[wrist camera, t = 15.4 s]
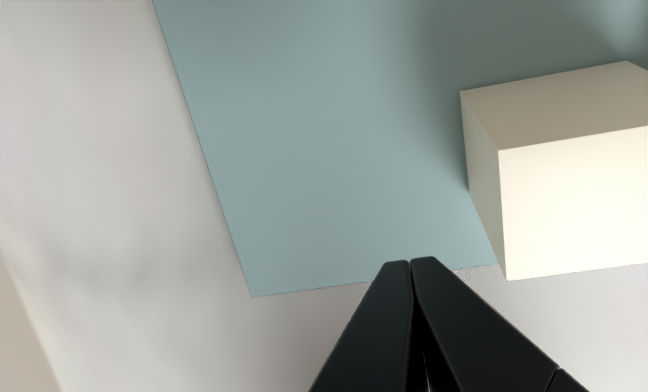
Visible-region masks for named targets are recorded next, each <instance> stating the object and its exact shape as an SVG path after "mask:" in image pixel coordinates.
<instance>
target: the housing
mask: <svg viewBox="0 0 648 392" xmlns="http://www.w3.org/2000/svg"><path fill="white" fill-rule="evenodd" d="M152 1H153V4H154V7H155V10H156V13H157V16H158V19H159V22H160V25H161V28H162V31H163V34H164V37H165V40H166V43H167V46H168V49H169V52H170V55H171V58H172V61H173V64H174V67H175V70H176V73H177V76H178V79H179V82H180V85H181V88H182V91H183V94H184V97H185V100H186V103H187V106H188V109H189V112H190V115H191V118H192V121H193V124H194V127H195V130H196V133H197V136H198V139H199V142H200V145H201V148H202V151H203V154H204V157H205V160H206V162H207V165H208V168H209V171H210V174H211V177H212V180H213V183H214V186H215V189H216V192H217V195H218V198H219V201H220V204H221V207H222V210H223V213H224V216H225V219H226V222H227V225H228V228H229V231H230V234H231V237H232V240H233V243H234V246H235V249H236V252H237V255H238V258H239V261H240V264H241V267H242V270H243V273H244V276H245V279H246V282H247V285H248V288H249V291H250V294H251V297H252V298H254V297H261V296H268V295H275V294H282V293H290V292H297V291H304V290H311V289H318V288H326V287H333V286H340V285H347V284H354V283H362V282H369V281H373V280H374V279H375V277H376V275H377V274H378V272H379V270H380V269H381V267H382V265H383V264H384V263H385V262H389V261H397V260H407V261H408V262H410V260H411V259H413V258H419V257H426V256H434V257H436V258H437V259H438V260H439V261H440V262H441V263H442V264H444V265H445V266H446V267H447V268H448V269H449V270H455V269H463V268H470V267H477V266H484V265H491V264H499V262H498V260H497V258H496V255H495V253H494V251H493V248H492V246H491V244H490V241H489V239H488V237H487V234H486V232H485V230H484V228H483V225H482V223H481V221H480V218H479V216H478V214H477V211H476V209H475V207H474V204H473V202H472V200H471V197H470V195H469V185H468V174H467V164H466V153H465V143H464V132H463V122H462V111H461V101H460V91H464V90H469V89H475V88H480V87H485V86H491V85H496V84H502V83H507V82H512V81H518V80H523V79H529V78H534V77H540V76H545V75H550V74H556V73H561V72H567V71H572V70H577V69H583V68H588V67H594V66H599V65H604V64H610V63H615V62H621V61H626V60H627V61H629V62H631V63H633V64H635V65H637V66H639V67H641V68H643V69H645V70H647V71H648V0H152ZM409 265H410V264H409Z"/></svg>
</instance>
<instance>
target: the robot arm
mask: <svg viewBox="0 0 648 392" xmlns="http://www.w3.org/2000/svg"><path fill="white" fill-rule="evenodd" d="M409 264H410V265H409ZM423 353H424V354H423ZM424 359H425V361H424ZM425 366H426V367H425ZM426 372H427V374H426ZM427 378H428V381H427ZM428 383H429V388H430V392H590V391H588V390H587V389H586V388H585V387H583V386H582V385H581V384H580V383H579V382H578V381H576V380H575V379H574V378H573V377H572V376H571V375H570V374H569V373H567V372H566V371H565V370H564V369H562V368H561V369H560V367H559V365H558V364H557V363H556V362H555V361H553V360H552V359H551V358H550V357H549V356H548V355H547V354H545V353H544V352H543V351H542V350H541V349H540V348H538V347H537V346H536V345H535V344H534V343H533V342H532V341H530V340H529V339H528V338H527V337H526V336H525V335H524V334H522V333H521V332H520V331H519V330H518V329H517V328H516V327H514V326H513V325H512V324H511V323H510V322H509V321H508V320H506V319H505V318H504V317H503V316H502V315H501V314H500V313H498V312H497V311H496V310H495V309H494V308H493V307H492V306H490V305H489V304H488V303H487V302H486V301H485V300H484V299H482V298H481V297H480V296H479V295H478V294H477V293H476V292H474V291H473V290H472V289H471V288H470V287H469V286H468V285H466V284H465V283H464V282H463V281H462V280H461V279H460V278H458V277H457V276H456V275H455V274H454V273H453V272H452V271H450V270H449V269H448V268H447V267H446V266H445V265H444V264H442V263H441V262H440V261H439V260H438V259H437V258H436V257H434V256H426V257H419V258H413V259H411V260H410V262H408V261H407V260H397V261H389V262H385V263H384V264H383V265H382V267H381V269H380V270H379V272H378V274H377V275H376V277H375V279H374V280H373V282H372V284H371V286H370V287H369V289H368V291H367V292H366V294H365V296H364V297H363V299H362V301H361V302H360V304H359V306H358V308H357V309H356V311H355V313H354V314H353V316H352V318H351V319H350V321H349V323H348V324H347V326H346V328H345V330H344V331H343V333H342V335H341V336H340V338H339V340H338V341H337V343H336V345H335V347H334V348H333V350H332V352H331V353H330V355H329V357H328V358H327V360H326V362H325V363H324V365H323V367H322V369H321V370H320V372H319V374H318V375H317V377H316V379H315V380H314V382H313V384H312V385H311V387H310V389H309V391H308V392H429V389H428Z"/></svg>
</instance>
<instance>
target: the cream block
mask: <svg viewBox="0 0 648 392" xmlns="http://www.w3.org/2000/svg"><path fill="white" fill-rule="evenodd" d="M460 101H461V111H462V122H463V132H464V143H465V153H466V164H467V174H468V185H469V195H470V197H471V200H472V202H473V204H474V207H475V209H476V211H477V214H478V216H479V218H480V221H481V223H482V225H483V228H484V230H485V232H486V234H487V237H488V239H489V241H490V244H491V246H492V248H493V251H494V253H495V255H496V258H497V260H498V262H499V265H500V267H501V269H502V271H503V274H504V276H505V278H506V281H512V280H520V279H527V278H535V277H542V276H549V275H557V274H564V273H572V272H579V271H587V270H594V269H602V268H609V267H617V266H624V265H632V264H639V263H647V262H648V71H647V70H645V69H643V68H641V67H639V66H637V65H635V64H633V63H631V62H629V61H627V60H626V61H621V62H615V63H610V64H604V65H599V66H594V67H588V68H583V69H577V70H572V71H567V72H561V73H556V74H550V75H545V76H540V77H534V78H529V79H523V80H518V81H512V82H507V83H502V84H496V85H491V86H485V87H480V88H475V89H469V90H464V91H460Z"/></svg>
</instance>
